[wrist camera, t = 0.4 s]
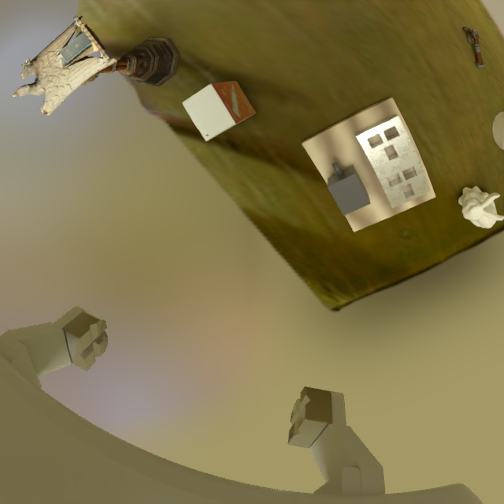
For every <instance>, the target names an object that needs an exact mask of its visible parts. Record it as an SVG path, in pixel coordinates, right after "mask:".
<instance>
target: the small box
mask: <svg viewBox="0 0 504 504" xmlns="http://www.w3.org/2000/svg"><path fill="white" fill-rule="evenodd" d="M182 104H183V106H184V107H185V109H186V111H187V112H188V114H189V115H190V117H191V119H192V121H193V122H194V124H195V125H196V127H197V128H198V130H199V131H200V133H201V134H202V136H203V137H204V139H205V141H208V140H210V139H211V138H213V137H215V136H217V135H218V134H220V133H222V132H224V131H226V130H227V129H229V128H231V127H233V126H234V125H236V124H238V123H240V122H241V121H243V120H245V119H247V118H249V117H250V116H252V115H254V114H256V112H255V110H254V109H253V107H252V105H251V104H250V102H249V101H248V99H247V97H246V96H245V94H244V92H243V91H242V89H241V88H240V86H239V84H238V83H237V81H229V82H220V83H212V84H210V85H208V86H206V87H205V88H203V89H202V90H200V91H199V92H197V93H196V94H194V95H193V96H191V97H190V98H188V99H187V100H185V101H184V102H182Z"/></svg>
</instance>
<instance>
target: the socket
mask: <svg viewBox="0 0 504 504" xmlns="http://www.w3.org/2000/svg"><path fill="white" fill-rule="evenodd" d="M393 126H394V128H395V130H396V132H397V133H395V134H393V135H391V136H389V137H387V138H386V137H385V135H384V133H383V131H385V130H387V129H389V128H391V127H393ZM376 134H379V135H380V137H381V139H382V140H380V141H378V142H376V143H374V144H372V145H370V144H369V142H368V141H367V139H368V138H370V137H372V136H374V135H376ZM355 135H356V137H357V139H358V141H359V143H360V144H361V146H362V148H363V150H364V152H365V153H366V155H367V157H368V159H369V161H370V163H371V165H372V167H373V169H374V171H375V173H376V175H377V177H378V179H379V181H380V183H381V185H382V187H383V189H384V191H385V194H386V196H387V198H388V200H389V202H390V205H391V207H392V208H394V207H397V206H399V205H401V204H403V203H406V202H408V201H410V200H413V199H415V198H417V197H419V196H422V195H424V194H426V193H428V192H431V190H430V188H429V185H428V182H427V179H426V177H425V174H424V171H423V169H422V166H421V164H420V162H419V159H418V157H417V154H416V152H415V150H414V147H413V145H412V143H411V141H410V139H409V136H408V134H407V132H406V130H405V128H404V126H403V124H402V122H401V120H400V118H399V116H398V115H396V114H395V115H393V116H390V117H388V118H386V119H384V120H382V121H380V122H378V123H376V124H374V125H371V126H369V127H367V128H365V129H363V130H361V131H359V132H357V133H355ZM390 145H392V146H393V148H394V150H395V152H396V153H394V154H392V155H390V156H388V157H387V155H386V153H385V151H384V148H386V147H388V146H390ZM410 167H413V169H414V171H412V172H410V173H408V174H406V175H403V173H402V171H404V170H406V169H408V168H410ZM397 173H398V175H399V178H397V179H395V180H393V181H390V182H388V180H387V178H388V177H391V176H393V175H395V174H397ZM407 184H410V186H411V189H412V190H409V191H407V192H405V193H404V192H403V190H402V187H403V186H405V185H407Z"/></svg>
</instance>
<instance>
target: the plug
mask: <svg viewBox="0 0 504 504" xmlns="http://www.w3.org/2000/svg"><path fill="white" fill-rule="evenodd" d="M332 167H333V169H334V170H335V172H336V174H335V175H333V176H331V177H329V178H328V182H327V188H328V189H329V191H330V193H331V194H332V196H333V198H334V199H335V201H336V203H337V205H338V206H339V208H340V210H341V212H342V213H343V215H347V214H349V213H351V212H353V211H356V210H358V209H360V208H362V207H365V206H367V205H369V204H371V203H370V199H369V195H368V192H367V190H366V188H365V186H364V184H363V182H362V181H361V179H360V177H359V175H358V173H357V171H356V169H355V168H354V166H351V167H349V168H347V169H345V170H343V171H342V170H341V168H340V166H339V164H338V163H337V162H334V163H333V164H332Z"/></svg>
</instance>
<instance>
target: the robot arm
mask: <svg viewBox="0 0 504 504" xmlns="http://www.w3.org/2000/svg"><path fill="white" fill-rule="evenodd" d="M106 328H107V326H106V321H105V320H103V319H102V318H99V317H97V316H96V315H94V314H92V313H90V312H88V311H86V310H84V309H82V308H80V307H78V306H77V307H74V308H72V309H71V310H70V311H69V312H67V313H66V314H65V315H63V316H62V317H61V318H60V319H58V320H57V321H56V322H54V323H53V324H52V323H51V322H50V323H45V324H40V325H34V326H29V327H24V328H19V329H13V330H8V331H6V332H5V333H4V334H3V335H1V336H0V504H482V502H481V500H480V499H479V498H478V497H477V496H476V495H475V494H474V493H473V492H472V491H471V490H470V489H469V488H468V487H466V486H465V485H464V484H460V483H457V484H451V485H447V486H442V487H437V488H432V489H426V490H419V491H412V492H404V493H394V494H385V486H384V475H383V467H382V466H381V464H380V463H379V462H378V461H377V459H376V458H375V457H374V456H373V455H372V453H371V452H370V451H369V450H368V448H367V447H366V446H365V445H364V443H363V442H362V441H361V440H360V438H359V437H358V436H357V435H356V433H355V432H354V431H353V430H352V428H351V427H349V426H346V414H345V403H344V395H343V393H338V392H331V391H326V390H321V389H315V388H310V387H304V388H303V390H302V391H301V396H300V399H298V400H297V401H296V403H295V405H294V407H293V410H292V414H291V420H290V422H291V423H292V427H291V429H290V430H289V439H288V444H289V445H294V446H299V447H305V448H309V451H310V452H311V454H312V456H313V458H314V460H315V462H316V464H317V466H318V468H319V470H320V472H321V473H322V475H323V477H324V479H325V481H326V483H325V484H324V485H323V486H321V487H320V488H319V489H318V490H316V491H315V492H314V494H310V493H300V492H292V491H285V490H278V489H271V488H266V487H260V486H255V485H250V484H245V483H241V482H237V481H233V480H228V479H225V478H221V477H217V476H214V475H211V474H207V473H204V472H200V471H197V470H195V469H191V468H189V467H186V466H183V465H180V464H177V463H175V462H172V461H169V460H167V459H164V458H161V457H159V456H157V455H154V454H152V453H150V452H147V451H145V450H143V449H140V448H138V447H136V446H134V445H132V444H130V443H128V442H126V441H124V440H122V439H120V438H118V437H116V436H114V435H112V434H110V433H108V432H107V431H105V430H103V429H101V428H99V427H97V426H96V425H94V424H92V423H91V422H89V421H87V420H86V419H84V418H82V417H81V416H79V415H78V414H76V413H74V412H73V411H71V410H70V409H68V408H67V407H65V406H64V405H62V404H61V403H59V402H58V401H56V400H55V399H54V398H52V397H51V396H50V395H48V394H47V393H45V392H44V391H43V390H42V389H41V384H40V381H39V379H38V376H41V375H44V374H46V373H49V372H52V371H54V370H57V369H59V368H62V367H65V366H67V365H70V364H72V363H73V364H75V365H76V366H78V367H80V368H82V369H84V370H86V371H87V370H88V369H89V368H90V367H91V366H92V365H93V364H94V363H95V357H98V356H101V355H102V354H103V353H104V352H105V350H106V347H107V344H108V336H107V334H106V332H105V331H104V330H105V329H106Z"/></svg>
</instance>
